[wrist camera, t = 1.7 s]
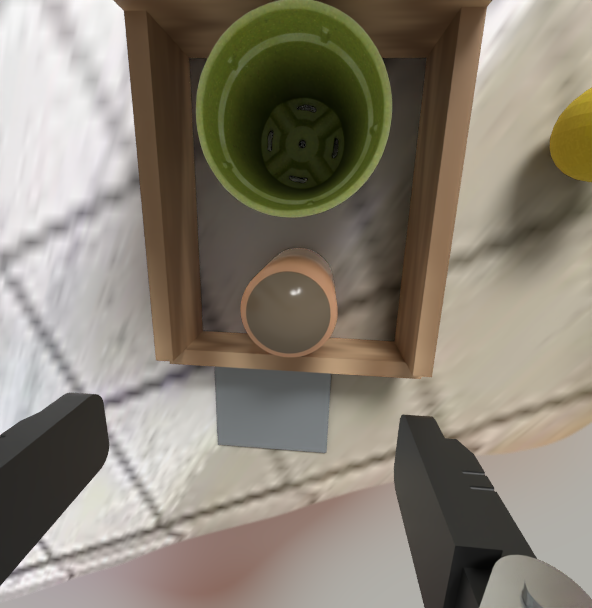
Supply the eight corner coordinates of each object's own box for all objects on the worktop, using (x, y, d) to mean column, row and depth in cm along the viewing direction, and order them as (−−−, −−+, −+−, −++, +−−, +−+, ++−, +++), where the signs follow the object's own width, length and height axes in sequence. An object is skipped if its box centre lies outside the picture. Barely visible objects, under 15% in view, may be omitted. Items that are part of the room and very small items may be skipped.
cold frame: (189, 343, 30) (142, 391, 22) (171, 37, 23) (96, -45, 16) (407, 355, 28) (439, 410, 21) (448, 36, 22) (513, -54, 15)
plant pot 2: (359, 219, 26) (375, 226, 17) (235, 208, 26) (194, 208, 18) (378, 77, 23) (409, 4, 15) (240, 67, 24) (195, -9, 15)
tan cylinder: (263, 314, 28) (239, 357, 20) (263, 246, 27) (238, 263, 19) (331, 318, 28) (334, 362, 20) (335, 249, 26) (340, 267, 18)
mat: (218, 442, 32) (217, 444, 32) (215, 363, 30) (214, 365, 30) (326, 450, 31) (326, 452, 31) (331, 371, 29) (331, 372, 29)
